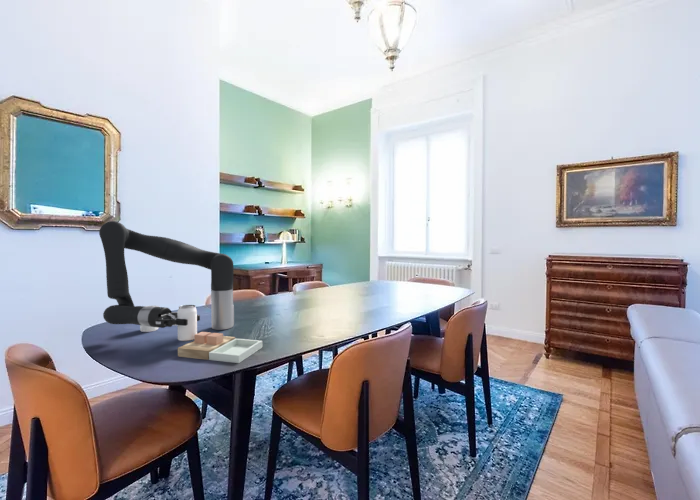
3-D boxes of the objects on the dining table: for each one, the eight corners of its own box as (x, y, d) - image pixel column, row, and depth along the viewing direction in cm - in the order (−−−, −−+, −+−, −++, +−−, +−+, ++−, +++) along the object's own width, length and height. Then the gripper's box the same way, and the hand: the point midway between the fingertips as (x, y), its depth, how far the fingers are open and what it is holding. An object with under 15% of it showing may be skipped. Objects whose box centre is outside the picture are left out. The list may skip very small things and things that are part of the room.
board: (207, 342, 133) (207, 334, 132) (235, 344, 130) (235, 337, 130) (177, 356, 117) (177, 347, 117) (208, 359, 114) (208, 351, 114)
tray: (235, 344, 130) (235, 338, 130) (262, 347, 127) (262, 340, 127) (209, 359, 114) (208, 352, 114) (238, 363, 112) (238, 355, 111)
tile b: (213, 340, 125) (213, 332, 125) (223, 341, 124) (223, 333, 124) (206, 344, 121) (206, 335, 121) (216, 345, 120) (216, 336, 120)
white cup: (150, 333, 144) (149, 309, 143) (134, 332, 145) (133, 308, 145) (163, 328, 152) (163, 306, 151) (148, 327, 153) (148, 305, 153)
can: (200, 337, 127) (200, 305, 126) (187, 342, 121) (187, 309, 120) (187, 335, 129) (187, 303, 129) (173, 340, 123) (173, 307, 122)
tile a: (201, 339, 126) (201, 331, 126) (211, 340, 125) (211, 332, 125) (194, 343, 122) (194, 334, 122) (204, 343, 121) (204, 335, 121)
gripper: (138, 311, 121) (179, 314, 117) (169, 303, 135) (206, 306, 131) (139, 331, 121) (179, 336, 117) (169, 321, 135) (206, 325, 131)
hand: (193, 320), depth 124 cm, fingers closed on can, 6 cm apart
